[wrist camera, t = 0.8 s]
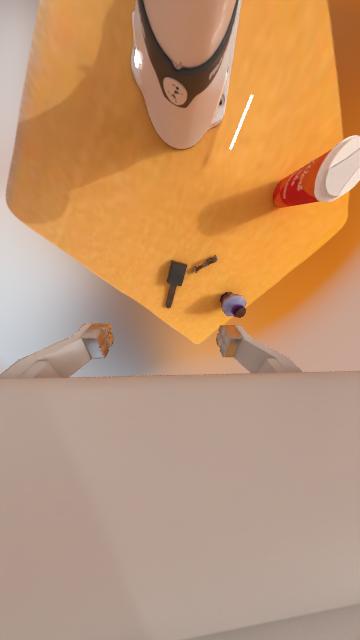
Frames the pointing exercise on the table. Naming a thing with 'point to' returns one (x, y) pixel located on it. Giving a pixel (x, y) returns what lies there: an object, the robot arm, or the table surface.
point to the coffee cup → (322, 176)
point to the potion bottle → (233, 304)
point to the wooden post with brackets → (206, 263)
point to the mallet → (175, 279)
